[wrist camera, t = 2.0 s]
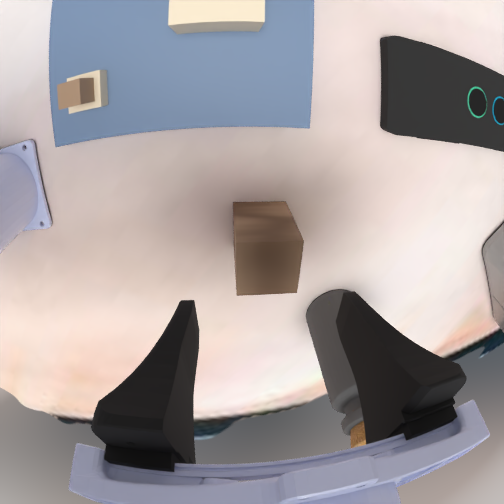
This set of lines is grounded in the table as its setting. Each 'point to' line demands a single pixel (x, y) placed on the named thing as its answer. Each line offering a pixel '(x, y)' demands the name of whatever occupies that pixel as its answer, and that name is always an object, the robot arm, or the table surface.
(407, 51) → the smart home device
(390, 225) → the table surface
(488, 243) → the projector
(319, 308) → the bottle
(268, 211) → the walnut block
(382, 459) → the robot arm
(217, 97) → the board
